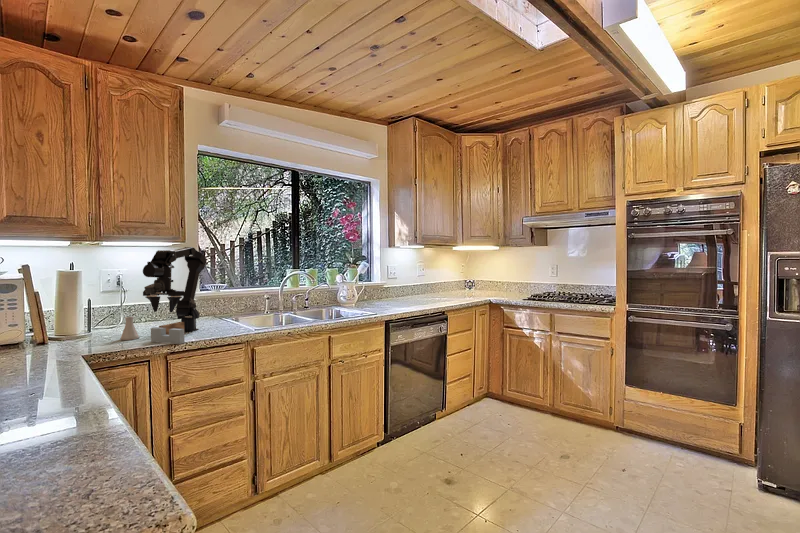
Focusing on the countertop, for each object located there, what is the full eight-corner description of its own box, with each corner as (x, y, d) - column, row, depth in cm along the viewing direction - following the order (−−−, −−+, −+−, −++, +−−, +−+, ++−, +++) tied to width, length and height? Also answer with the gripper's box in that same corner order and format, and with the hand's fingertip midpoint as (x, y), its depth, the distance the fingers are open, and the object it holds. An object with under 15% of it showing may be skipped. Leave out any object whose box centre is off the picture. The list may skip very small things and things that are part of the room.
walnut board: (180, 334, 199) (180, 321, 199) (184, 334, 198) (184, 322, 198) (159, 339, 188) (158, 326, 188) (163, 339, 187) (163, 326, 187)
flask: (116, 339, 188) (116, 317, 187) (133, 336, 194) (132, 315, 194) (126, 341, 184) (125, 318, 184) (142, 338, 191) (142, 316, 190)
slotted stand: (155, 340, 185) (155, 327, 185) (184, 342, 180) (184, 329, 180) (151, 341, 182) (150, 328, 182) (179, 344, 178) (179, 330, 177)
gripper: (132, 277, 184) (131, 312, 184) (165, 277, 179) (164, 313, 178) (154, 277, 195) (153, 311, 194) (185, 277, 189) (184, 312, 189)
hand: (163, 312), depth 189 cm, fingers open, 9 cm apart
